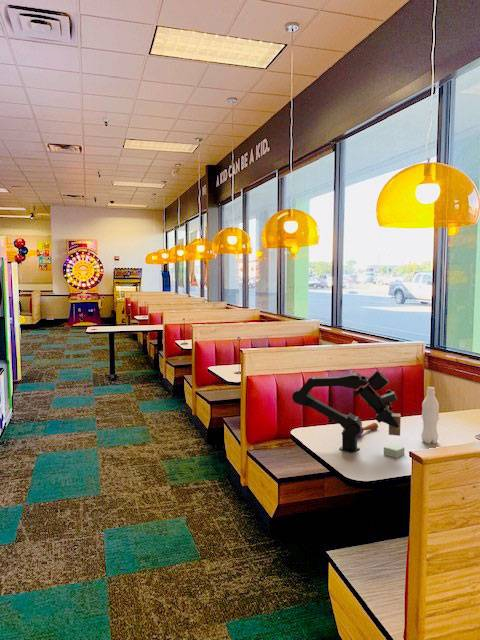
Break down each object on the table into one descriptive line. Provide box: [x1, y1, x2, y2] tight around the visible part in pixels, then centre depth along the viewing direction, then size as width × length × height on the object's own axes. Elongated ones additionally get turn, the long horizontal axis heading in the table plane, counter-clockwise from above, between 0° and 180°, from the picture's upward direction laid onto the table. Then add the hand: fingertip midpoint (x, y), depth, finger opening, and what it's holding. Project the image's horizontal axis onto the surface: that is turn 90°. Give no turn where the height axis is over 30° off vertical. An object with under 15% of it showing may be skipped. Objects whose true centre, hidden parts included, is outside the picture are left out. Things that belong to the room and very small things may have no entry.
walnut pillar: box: [388, 412, 402, 436], centre depth 202 cm, size 4×4×8 cm
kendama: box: [356, 422, 379, 438], centre depth 229 cm, size 6×6×20 cm
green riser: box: [383, 443, 405, 459], centre depth 203 cm, size 6×6×3 cm
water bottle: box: [420, 386, 440, 445], centre depth 216 cm, size 7×7×25 cm
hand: (398, 425), depth 201 cm, fingers closed on walnut pillar, 4 cm apart
